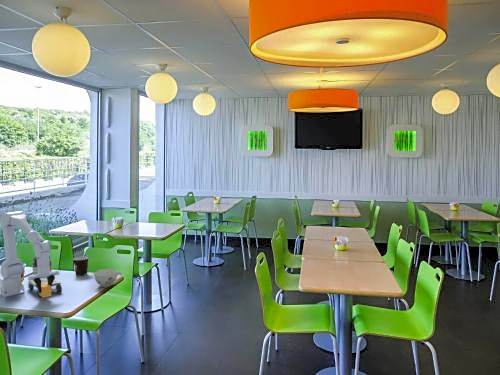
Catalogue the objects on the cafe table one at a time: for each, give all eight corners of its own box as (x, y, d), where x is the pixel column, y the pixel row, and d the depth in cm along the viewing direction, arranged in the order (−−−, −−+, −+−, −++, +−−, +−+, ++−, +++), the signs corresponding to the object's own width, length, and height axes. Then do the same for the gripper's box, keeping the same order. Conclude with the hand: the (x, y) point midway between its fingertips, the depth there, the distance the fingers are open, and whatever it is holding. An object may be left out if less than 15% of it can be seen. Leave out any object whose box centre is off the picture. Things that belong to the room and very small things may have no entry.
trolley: (40, 298, 220) (40, 287, 220) (27, 289, 235) (27, 279, 234) (62, 293, 228) (61, 283, 228) (48, 285, 242) (48, 275, 242)
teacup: (95, 290, 232) (94, 276, 231) (93, 284, 243) (92, 270, 242) (124, 286, 238) (123, 272, 238) (120, 280, 249) (120, 267, 249)
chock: (43, 297, 214) (42, 287, 214) (39, 294, 219) (38, 285, 218) (51, 295, 217) (51, 285, 217) (47, 292, 221) (46, 283, 221)
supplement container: (53, 273, 266) (52, 254, 265) (50, 278, 256) (49, 258, 255) (35, 275, 264) (34, 255, 263) (31, 279, 253) (30, 259, 252)
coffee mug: (73, 273, 266) (73, 257, 265) (88, 271, 269) (87, 256, 269) (74, 278, 255) (73, 261, 254) (89, 276, 259) (88, 260, 258)
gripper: (30, 269, 209) (32, 296, 210) (61, 263, 219) (62, 289, 220) (26, 266, 214) (27, 293, 215) (56, 261, 224) (57, 286, 225)
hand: (44, 291), depth 218 cm, fingers closed on chock, 4 cm apart
